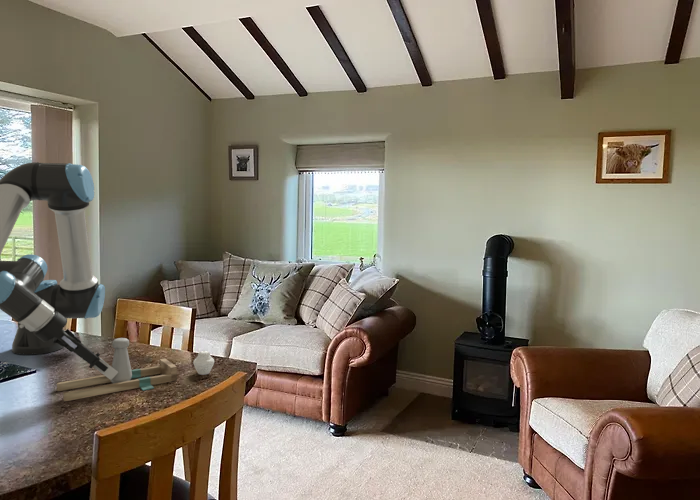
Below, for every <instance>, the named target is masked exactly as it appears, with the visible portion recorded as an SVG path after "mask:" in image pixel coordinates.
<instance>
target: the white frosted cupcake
mask: <svg viewBox="0 0 700 500" xmlns="http://www.w3.org/2000/svg"><path fill="white" fill-rule="evenodd" d="M192 363H193V366H194V369H195V370H196V372H197V374H198V375H200V376H201V375H203V376H205V375H209V374H210V372H211V371H212V369H213V366H214V364H215V359H214V357H212V356H211V353H210V351H207V350H202V351H198V353H197V356H196V358H195V359H194V360H193V361H192Z"/></svg>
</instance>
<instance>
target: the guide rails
mask: <svg viewBox="0 0 700 500" xmlns="http://www.w3.org/2000/svg"><path fill="white" fill-rule="evenodd" d="M131 371H132V377H131V380H130V381H125V382H119V383H114V384H113V383H112V382H111V380H110V379H109V378H107V377H106V376H105V375H103V374H102V375H101V374H100V375H96V376H90V377H84V378H83V377H82V378H77V379H71V380H67V381H61V382H60V381H59V382H56V390H57V392H62V394H63V395H62V397H63V399H62V400H63V401H64V402H69V401H74V400H79V399H80V400H81V399H84V398H85V399H86V398H89V397H95V396H101V395H106V394H112V393H116V392H121V391H123V392H124V391H128V390H133V389H137V388H140V390H142V391H149V390H153V389H155V387H154V386H155V385H158V384H159V385H160V384H164V383H171V382H175V381H177V380H178V366H176V365H175V364H174V363H172V362H171V361H169V360H168V359H167V358H160V359H159V365H155V366H151V367H143V368H135V369H131ZM159 374H160V375H159ZM153 375H155V376H153ZM136 378H137V379H136ZM108 383H110V384H108ZM103 384H104V385H103ZM89 386H93V387H89ZM85 387H87V388H85ZM80 388H82V389H80ZM74 389H76V390H74ZM68 390H70V391H68Z"/></svg>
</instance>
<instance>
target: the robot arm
mask: <svg viewBox="0 0 700 500" xmlns="http://www.w3.org/2000/svg"><path fill="white" fill-rule="evenodd" d="M94 198H95V185H94V180H93V176H92V174H91V172H90V170H89V169H88V168H87V167H86V166H85V165H83V164H75V163H70V162H68V163H65V162H63V163H59V162H57V163H56V162H38V161H37V162H35V161H34V162H33V161H31V162H27V163H23V164H20V165H18V166H16V167H14V168H13V169H11V170H10V171H8V172H7V173H5V174H4V175H3V176H2V177H1V178H0V256H1V254H2V252H3V250H4V248H5V246H6V244H7V242H8V240H9V238H10V235H11V233H12V231H13V230H14V227H15V225H16V223H17V221H18V218H19V216H20V214H21V212H22V210H23V209H24V208H27V207H28V206H29V204H30V202H32V201H45V202H47V208H48V209H49V210H50V211H52V212H53V213H54V217H55V218H54V219H55V224H56V231H57V232H56V233H57V238H58V246H59V247H58V248H59V253H60V254H59V255H60V260H61V267H62V274H63V278H62V279H61V280H60V281H59V284H58V281H57V280H56V279H45V278H46V275H47V273H48V264H47V262H46V260H45V259H43V258H42V257H41V256H39V255H36V254H32V253H31V254H30V253H29V254H26V255H25V254H24V255H23V256H21V257H19V258H18V259H17V260H0V311H1V312H4V314H6V315H8V316H9V317H11V318H12V319H13V320H14V321H15V322H17V330H16V333H15V335H14V338H13V340H12V341H13V342H12V344H11V351H12V353H13V354H15V355H24V356H25V355H26V356H27V355H28V356H29V355H40V354H47V353H48V354H49V353H52V352H56V351H59V350H61V349H63V348H65V349H66V350H67V351H69V352H71V353H72V352H73V353H74V355H77V356H78V357H80V358H81V359H82V360H84V361H85V362H86V363H88V364H89V366H88V368H90V369H93V368H94V369H96V370H97V371H98V372H99V373H100V374H102V375H105V376H106V377H107V378H109V379H110V380H112V379H113V378H114V377H115V376H116V374H117V373H118V371H116V370H115V369H114V368H113V367H112V365H111V364H110V363H109V364H108V362H106V360H104V359H102V358H101V357H100V355H101V354H100V353H99V352H97V353H94V351H92V350H90V349H89V348H88V347H87V346H86V345H84V344H83V343H82V341H81V340H80V339H79V338H78V337H77V336H76V335H75V334H74V333H73V332H72V331H71V330H70V329H68V328H66V329H65V330H64V328H65V327H66V326H67V323H68V319H95V318H98V317H99V316H100V315H101V313H102V310H103V307H104V304H105V303H104V302H105V300H106V299H105V298H106V297H105V296H106V287H105V285H104V284H101V283H99V281H98V278H97V276H95V275H94V274H93V270H92V262H91V253H90V246H89V245H90V244H89V238H88V229H87V221H86V212H85V211H86V210H87V208H89V206H90V203H91V202H92V201H93V200H94ZM44 279H45V280H44Z"/></svg>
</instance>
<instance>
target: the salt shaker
mask: <svg viewBox="0 0 700 500" xmlns="http://www.w3.org/2000/svg"><path fill="white" fill-rule="evenodd" d="M129 346H130V340H129V339H128V338H125V337H118V338H114V339H113V341H112V343H111V347H112V348H113V349H114V351H113V357H112V363H111V367H113V368H114V369H115V370H116V371H118V373H117V374H116V376H115V377H114V378H113V379H112V380H111V382H110V383H111V384H114V383H119V382H125V381H131V380H132V379H131V377H132V371H131V370H132V366H131V362H130V357H129V352H128V351H129V350H128V347H129Z"/></svg>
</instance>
